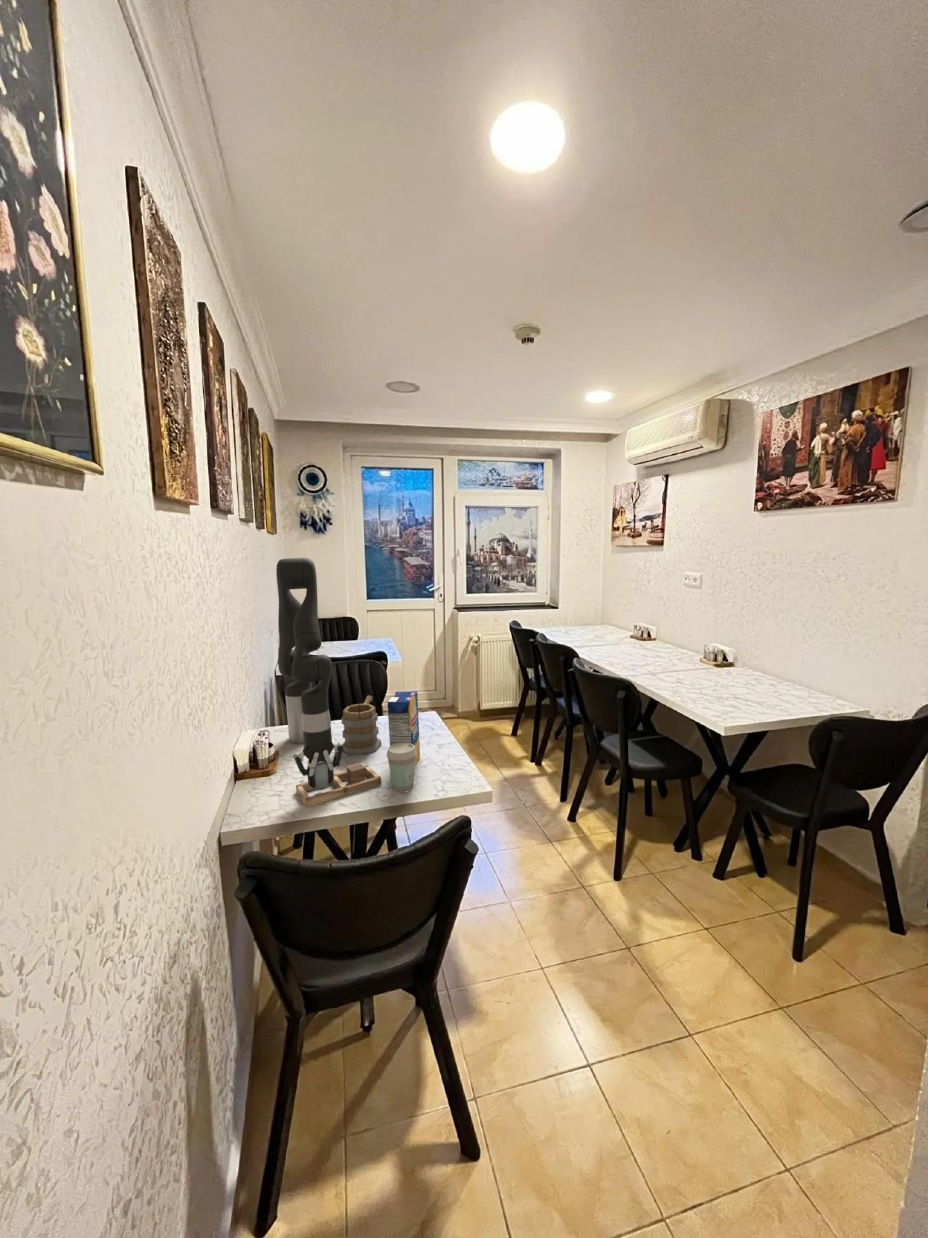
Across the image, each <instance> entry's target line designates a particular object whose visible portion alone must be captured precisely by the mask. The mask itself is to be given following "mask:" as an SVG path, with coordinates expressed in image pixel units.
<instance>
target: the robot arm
mask: <svg viewBox="0 0 928 1238" xmlns="http://www.w3.org/2000/svg"><path fill="white" fill-rule="evenodd" d="M275 569H276V570H275V572H276V574H275V575H276V585H277V595H278V616H277V617H278V620H277V621H278V637H279V640H278V641H279V645H278V657H277V666H278V671H279V674H280V675H281V676H283V677H292V678H293V680H294V681H293V682H291V683H289V684H288V685H285V688H284V694H285V705H286V717H287V729H288V739H289V742H290V743H293V744H303V749H302V752H300V753H299V754H296V753H295V754H294V755H293V757H292V758H293V759H294V761H295V763H296V766H297V768H298V771H299V772H300V773H301V775H302V776H304V777H305V776H307V782H308V784H309V785H310V787H312V788H315V778H314V775H313V773H314V769H315V767H316V763H318V762H320V761H325V762H326V763H327V765H328V775H329V783H332V780H333V779H334V769H335V768H337V767H339V766H340V764H341V760H342V755H343V752H344V751H343V746H342V744H341V743H337V744H335V743H333V738H332V737H333V736H332V721H331V715H330V710H329V686H330V681H331V677H332V672H333V661H332V659H331V658H330V657H329V656H328V655H327V654H314V655H311V653H313V652H315V651H317V650H319V649H320V648H321V647H322V636H321V632H320V631H321V630H320V624H319V615H318V614H319V613H318V602H319V601H318V581H317V569H316V566H315V562H314V561H313V559H312V558H308V557H294V558H293V557H292V558H289V557H288V558H280V559H279V560H278V562H277V565H276V568H275ZM302 589H303V590H305V589H306V593H305V596H304V599H303V601H302V603H301V602H300V601H299V600H298V599H297V598H296V597H295V596H294V595H293V594H292V592H291V590H302ZM312 682H318V683H317V684H316V685H315V686H313V685H312ZM312 686H313V687H312ZM333 751H334V755H333V759H331V757H330V756H331V753H332V752H333ZM304 757H305V758H306V759H308V760H307V767H306V768H305V767H304V766H305V765H304V764H303V761H304ZM332 784H333V783H332Z"/></svg>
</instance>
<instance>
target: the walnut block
mask: <svg viewBox="0 0 928 1238" xmlns="http://www.w3.org/2000/svg"><path fill="white" fill-rule="evenodd" d="M363 766H364V765H362V764H361V763H360V762H358V763H353V764H349V765H347V766H346V771H347V779H346V780H347V784H348V785H351V784H355V783H358V782H361V781H365V780H366V774H365V768H364V767H363Z"/></svg>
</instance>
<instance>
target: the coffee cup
mask: <svg viewBox="0 0 928 1238" xmlns="http://www.w3.org/2000/svg"><path fill="white" fill-rule="evenodd" d="M386 751H387V752H386V758H387V760H388V761H387V762H388V766H389V767H388V768H389V772H390V778H391V784H392V788H393V790H394V791H395V792H397V793H407V792H410V791H412V790H413V789H414V785H415V770H416V766H415V758H416V754H417V752H416V749H415V747H414V745H413V744H410V743H397V744H393V745H391V746H390V745H389V746H388V748H387V750H386Z"/></svg>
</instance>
